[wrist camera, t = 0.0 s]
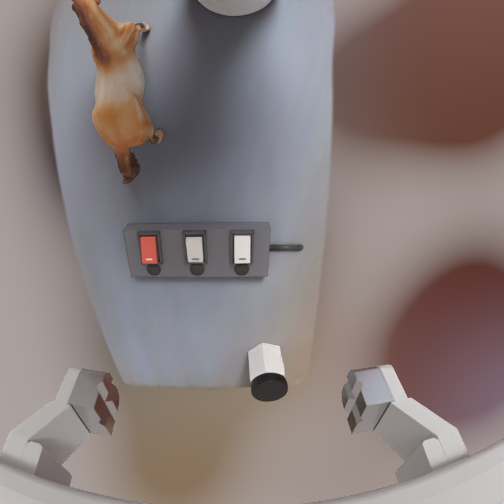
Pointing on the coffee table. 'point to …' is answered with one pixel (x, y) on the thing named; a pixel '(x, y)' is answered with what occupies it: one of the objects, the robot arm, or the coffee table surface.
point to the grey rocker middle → (194, 249)
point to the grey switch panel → (214, 249)
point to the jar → (267, 372)
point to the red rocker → (149, 249)
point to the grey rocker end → (242, 248)
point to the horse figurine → (117, 84)
